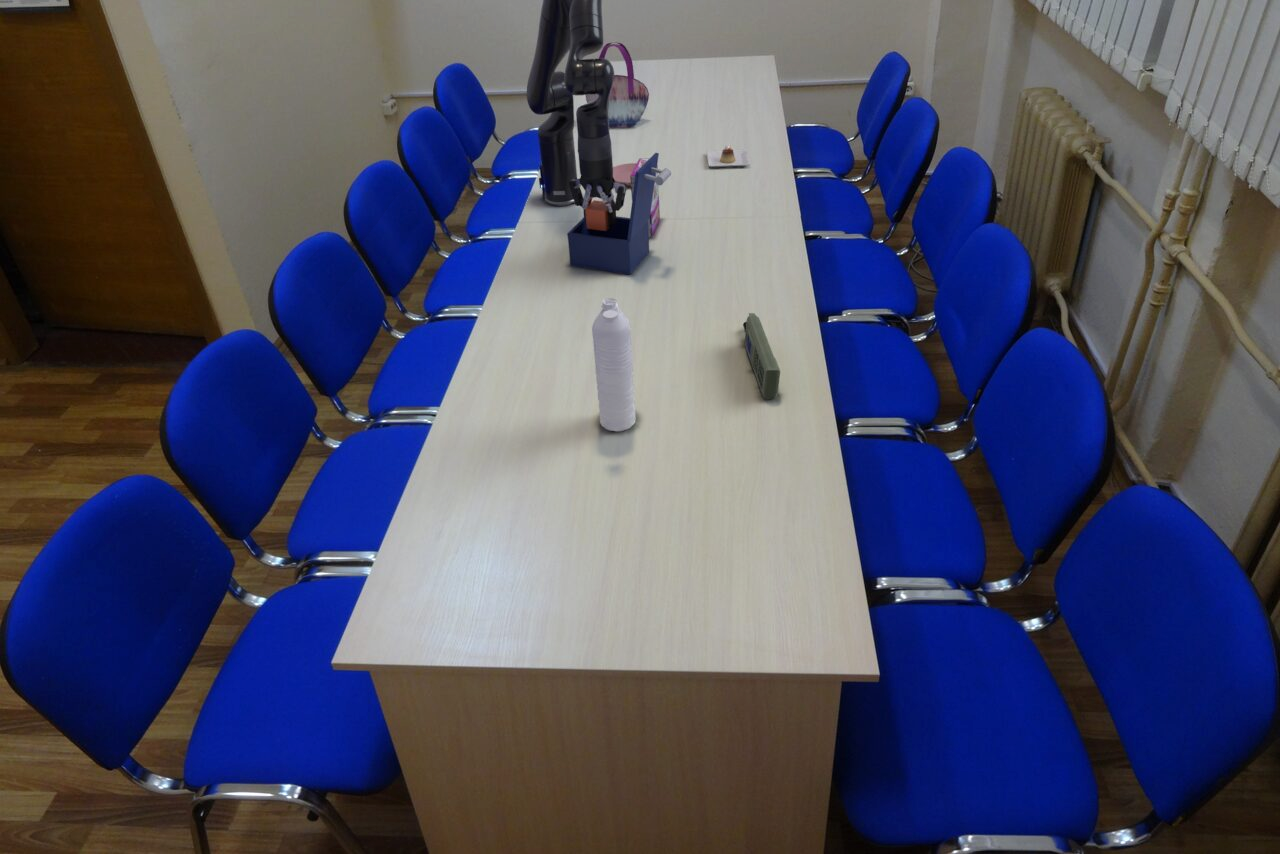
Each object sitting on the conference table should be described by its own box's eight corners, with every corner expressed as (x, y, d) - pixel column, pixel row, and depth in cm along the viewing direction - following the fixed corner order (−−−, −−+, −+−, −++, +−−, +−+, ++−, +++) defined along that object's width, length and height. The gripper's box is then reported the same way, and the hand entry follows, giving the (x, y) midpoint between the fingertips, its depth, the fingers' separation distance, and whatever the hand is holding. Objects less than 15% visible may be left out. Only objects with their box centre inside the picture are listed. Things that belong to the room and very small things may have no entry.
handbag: (583, 128, 281) (577, 48, 265) (587, 118, 288) (581, 39, 273) (648, 127, 279) (645, 46, 263) (650, 117, 286) (648, 38, 271)
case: (570, 265, 205) (567, 233, 199) (591, 243, 213) (588, 212, 208) (630, 274, 200) (628, 242, 195) (649, 252, 208) (648, 220, 203)
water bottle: (599, 411, 158) (589, 292, 143) (634, 409, 158) (628, 289, 143) (600, 441, 151) (590, 319, 136) (637, 438, 151) (630, 316, 136)
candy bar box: (641, 218, 224) (638, 157, 214) (660, 219, 223) (658, 158, 213) (632, 237, 215) (629, 174, 205) (652, 238, 214) (649, 175, 204)
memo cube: (586, 228, 201) (585, 208, 198) (595, 219, 205) (593, 200, 201) (606, 231, 199) (604, 211, 196) (614, 222, 203) (613, 202, 200)
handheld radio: (760, 400, 159) (737, 329, 178) (778, 399, 159) (752, 329, 179) (764, 370, 155) (739, 301, 174) (782, 369, 155) (755, 301, 175)
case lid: (635, 172, 184) (659, 178, 182) (655, 152, 192) (677, 158, 191) (627, 239, 194) (649, 246, 193) (646, 218, 203) (667, 224, 202)
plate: (665, 174, 247) (665, 168, 245) (639, 192, 237) (639, 185, 236) (624, 166, 253) (624, 160, 252) (597, 183, 244) (596, 176, 242)
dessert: (749, 168, 248) (750, 151, 245) (708, 169, 248) (708, 153, 246) (746, 153, 257) (746, 137, 255) (706, 154, 258) (706, 138, 255)
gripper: (631, 150, 192) (634, 221, 202) (573, 144, 196) (579, 214, 207) (618, 162, 186) (622, 234, 197) (559, 156, 191) (566, 227, 201)
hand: (600, 223), depth 202 cm, fingers closed on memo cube, 5 cm apart
